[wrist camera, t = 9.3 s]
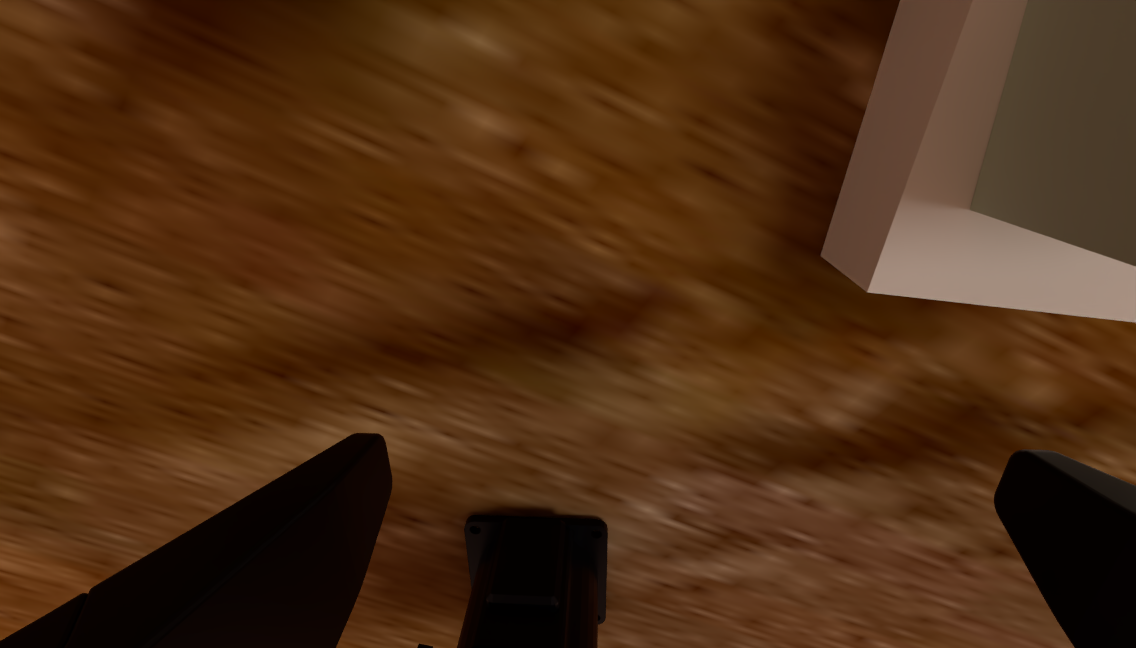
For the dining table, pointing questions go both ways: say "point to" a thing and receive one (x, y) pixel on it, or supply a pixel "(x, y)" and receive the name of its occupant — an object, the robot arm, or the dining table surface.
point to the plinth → (953, 179)
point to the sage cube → (1068, 128)
